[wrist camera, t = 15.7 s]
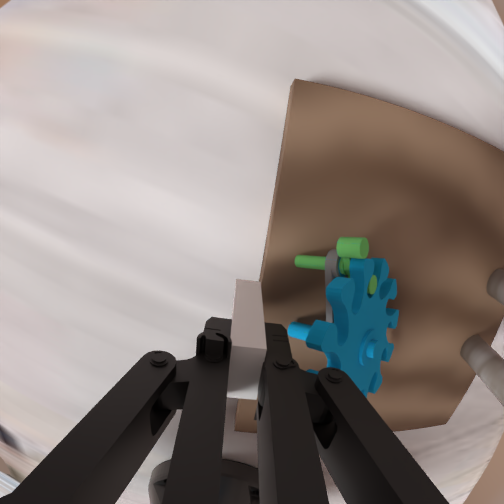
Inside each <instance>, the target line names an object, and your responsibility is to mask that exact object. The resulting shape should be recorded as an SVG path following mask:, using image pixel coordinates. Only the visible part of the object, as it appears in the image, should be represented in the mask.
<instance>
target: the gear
mask: <svg viewBox="0 0 504 504" xmlns="http://www.w3.org/2000/svg"><path fill="white" fill-rule="evenodd" d="M368 252H369V243H368V240H367V238H365V237H340V238H339V239H338V241H337V247H336V249H331V250H330V251H329V252H328V254H327V256H326V257H323V256H309V255H297V256H296V257H295V265H296V267H300V268H310V269H319V270H325V291H326V322H325V321H321V320H315V322H314V323H313V325H307V324H303V323H299V322H295V321H293V322H291V323H290V325H289V327H288V335H289V336H290V337H293V338H297V339H300V340H304V341H305V343H306V345H307V347H308V348H311V349H314V350H318V351H321V352H324V354H325V356H326V358H327V367H333V368H338V369H340V370H342V371H344V372H345V373H346V374H348V376H349V377H350V378H351V379H352V381H353V382H354V383H355V384H356V386H357V387H358V388H359V390H360V391H361V392H362V393H363V395H364V396H365V397H366V398H367V393H368V392H370V393H373V394H375V393H376V392H377V390H378V389H379V387H380V385H381V384H382V375H381V372H380V363H381V361H385V362H389V360H390V358H391V355H392V352H393V349H394V344H393V343H388V340H387V336H386V331H387V328H392V329H395V328H396V326H397V322H398V316H399V310H398V309H391V308H386V304H387V301H388V299H392V300H394V299H395V297H396V295H397V283H396V279H392V278H387V277H388V274H389V266H388V263H387V261H386V260H385V258H371V259H368V258H366V257H367V255H368ZM347 277H348V278H347ZM307 372H310V373H314V374H318V372H319V371H316V370H313V369H308V370H307Z"/></svg>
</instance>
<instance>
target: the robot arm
mask: <svg viewBox="0 0 504 504" xmlns="http://www.w3.org/2000/svg"><path fill="white" fill-rule="evenodd" d="M257 395H258V403H257V407H256V412H255V416H254V420H257V442H258V469H256V468H253V467H251V466H248V465H245V464H241V463H237V462H233V461H228V460H222V447H223V435H224V423H225V411H226V399H227V397H231V398H241V399H252V400H257ZM177 409H183V411H182V415H181V419H180V423H179V428H178V432H177V436H176V441H175V445H174V450H173V454H172V459H171V460H169V461H166V462H163V463H161V464H159V465H158V466H157V467H155V468H154V470H153V471H152V475H151V478H150V482H149V488H148V491H149V497H150V504H329V501H328V496H327V491H326V486H325V481H324V477H323V472H322V467H321V462H320V458H319V455H320V456H321V458H322V460H323V462H324V464H325V466H326V467H327V469H328V471H329V473H330V475H331V477H332V478H333V480H334V482H335V484H336V486H337V487H338V489H339V491H340V493H341V494H342V496H343V498H344V500H345V502H346V503H347V504H449V503H448V501H447V500H446V499H445V498H444V496H443V495H442V494H441V493H440V491H439V490H438V489H437V487H436V486H435V485H434V484H433V482H432V481H431V480H430V479H429V477H428V476H427V475H426V473H425V472H424V471H423V470H422V468H421V467H420V466H419V465H418V463H417V462H416V461H415V459H414V458H413V457H412V456H411V454H410V453H409V452H408V451H407V449H406V448H405V447H404V445H403V444H402V443H401V442H400V440H399V439H398V438H397V437H396V435H395V434H394V433H393V431H392V430H391V429H390V428H389V426H388V425H387V424H386V423H385V421H384V420H383V419H382V418H381V416H380V415H379V414H378V412H377V411H376V410H375V409H374V407H373V406H372V405H371V404H370V402H369V401H368V400H367V398H366V397H365V396H364V395H363V393H362V392H361V391H360V390H359V388H358V387H357V386H356V384H355V383H354V382H353V381H352V379H351V378H350V377H349V376H348V374H346V373H345V372H344V371H342V370H340V369H338V368H333V367H326V368H323V369H321V370H320V371H319V372H318V374H314V373H310V372H307V371H304V370H302V369H300V368H299V364H298V363H297V361H296V360H294V359H293V358H292V353H291V348H290V343H289V338H288V334H287V330H286V329H285V327H284V326H283V325H282V324H276V323H266V322H264V313H263V302H262V292H261V282H257V281H248V280H240V279H236V286H235V294H234V302H233V310H232V318H231V319H224V318H216V317H211V318H210V319H209V320H207V321H206V324H205V328H204V332H203V333H201V334H199V335H198V337H197V347H196V356H195V357H193V358H191V359H188V360H178V361H176V359H175V357H174V356H173V355H172V354H170V353H168V352H165V351H152V352H148V353H147V354H145V355H144V356H143V357H142V358H141V359H140V360H139V361H138V362H137V363H136V364H135V365H134V366H133V367H132V368H131V369H130V370H129V371H128V372H127V373H126V374H125V375H124V376H123V377H122V378H121V379H120V380H119V382H118V383H117V384H116V385H115V386H114V387H113V388H112V389H111V390H110V391H109V392H108V393H107V394H106V395H105V396H104V397H103V398H102V399H101V400H100V401H99V402H98V403H97V404H96V405H95V406H94V407H93V408H92V409H91V411H90V412H89V413H88V414H87V415H86V416H85V417H84V418H83V419H82V420H81V421H80V422H79V423H78V424H77V425H76V426H75V427H74V428H73V429H72V430H71V431H70V432H69V433H68V434H67V436H66V437H65V438H64V439H63V440H62V441H61V442H60V443H59V444H58V445H57V446H56V447H55V448H54V449H53V450H52V451H51V452H50V453H49V454H48V455H47V456H46V457H45V458H44V460H43V461H42V462H41V463H40V464H39V465H38V466H37V467H36V468H35V469H34V470H33V471H32V472H31V473H30V474H29V475H28V476H27V477H26V478H25V479H24V481H23V482H22V483H21V484H20V485H19V486H18V487H17V488H16V489H15V490H14V491H13V492H12V493H10V494H8V495H6V496H3V497H1V498H0V504H115V503H116V501H117V500H118V499H119V497H120V496H121V494H122V493H123V491H124V490H125V488H126V487H127V485H128V484H129V482H130V481H131V479H132V478H133V476H134V475H135V474H136V472H137V471H138V469H139V468H140V466H141V465H142V463H143V462H144V460H145V459H146V457H147V456H148V454H149V453H150V451H151V450H152V448H153V447H154V445H155V444H156V442H157V441H158V439H159V438H160V436H161V434H162V433H163V431H164V430H165V428H166V427H167V425H168V424H169V422H170V421H171V419H172V418H173V416H174V415H175V413H176V410H177Z"/></svg>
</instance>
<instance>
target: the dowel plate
mask: <svg viewBox="0 0 504 504" xmlns="http://www.w3.org/2000/svg"><path fill="white" fill-rule="evenodd" d="M340 237H365V238H367V240H368V243H369V252H368V255H367V257H366V258H368V259H371V258H385V260H386V261H387V263H388V266H389V274H388V277H387V278H392V279H396V283H397V295H396V297H395V299H394V300H392V299H388V301H387V304H386V308H391V309H398V310H399V316H398V322H397V326H396V328H395V329H392V328H387V331H386V336H387V340H388V343H393V344H394V349H393V352H392V355H391V358H390V360H389V362H385V361H381V363H380V372H381V375H382V384H381V385H380V387H379V389H378V390H377V392H376V393H375V394H373V393H370V392H368V393H367V400H368V401H369V402H370V404H371V405H372V406H373V407H374V409H375V410H376V411H377V412H378V414H379V415H380V416H381V418H382V419H383V420H384V421H385V423H386V424H387V425H388V426H389V428H390V429H391V430H392V431H393V432H395V431H403V430H411V429H419V428H425V427H432V426H438V425H443V424H446V423H447V422H448V420H449V419H450V417H451V416H452V414H453V412H454V411H455V409H456V408H457V406H458V405H459V403H460V401H461V400H462V398H463V396H464V395H465V393H466V391H467V390H468V388H469V386H470V384H471V383H472V381H473V379H474V377H475V375H476V374H477V375H478V376H479V377H480V379H481V380H482V381H483V382H484V383H485V384H486V386H487V387H488V388H489V389H490V390H491V392H492V393H493V394H494V395H495V397H496V398H497V399H498V400H499V401H500V403H501V404H502V405H503V406H504V359H503V358H502V357H501V356H500V355H499V354H498V353H497V352H496V351H495V350H494V349H493V348H491V347H490V346H491V344H492V342H493V340H494V337H495V335H496V333H497V331H498V328H499V326H500V324H501V321H502V319H503V316H504V152H503V151H502V150H500V149H498V148H496V147H494V146H492V145H490V144H488V143H486V142H484V141H482V140H480V139H478V138H476V137H474V136H472V135H470V134H468V133H465V132H463V131H461V130H459V129H456V128H454V127H452V126H450V125H447V124H445V123H442V122H440V121H438V120H435V119H433V118H430V117H428V116H425V115H422V114H420V113H417V112H414V111H412V110H409V109H406V108H403V107H400V106H397V105H394V104H391V103H388V102H385V101H382V100H379V99H375V98H372V97H369V96H365V95H362V94H358V93H355V92H351V91H347V90H343V89H339V88H335V87H331V86H327V85H323V84H318V83H314V82H309V81H304V80H299V79H294V81H293V83H292V85H291V87H290V94H289V100H288V107H287V113H286V120H285V126H284V133H283V139H282V145H281V152H280V158H279V164H278V171H277V177H276V183H275V189H274V195H273V201H272V207H271V214H270V220H269V226H268V232H267V238H266V244H265V250H264V256H263V262H262V267H261V273H260V279H259V282H261V292H262V302H263V313H264V322H266V323H276V324H282V325H283V326H284V327H285V329H286V330H287V334H288V327H289V325H290V323H291V322H293V321H295V322H299V323H303V324H307V325H313V323H314V322H315V320H321V321H325V322H326V291H325V270H319V269H310V268H300V267H296V265H295V257H296V256H297V255H309V256H323V257H326V256H327V254H328V252H329V251H330V250H331V249H336V247H337V241H338V239H339V238H340ZM347 278H348V277H347ZM288 338H289V343H290V348H291V353H292V358H293V359H294V360H296V361H297V363H298V364H299V368H300V369H302V370H304V371H307V370H308V369H313V370H316V371H320V370H321V369H323V368H326V367H327V358H326V356H325V354H324V352H321V351H318V350H314V349H311V348H308V347H307V345H306V343H305V341H304V340H300V339H297V338H293V337H290V336H289V335H288ZM257 403H258V395H257V400H252V399H241V398H238V404H237V409H236V414H235V431H239V432H250V433H257V420H254V416H255V412H256V407H257Z"/></svg>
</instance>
